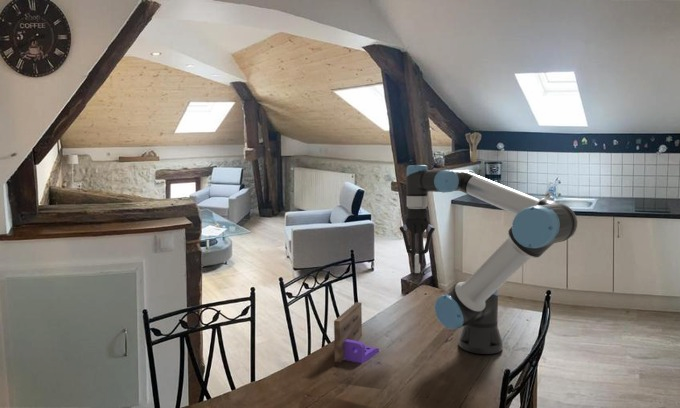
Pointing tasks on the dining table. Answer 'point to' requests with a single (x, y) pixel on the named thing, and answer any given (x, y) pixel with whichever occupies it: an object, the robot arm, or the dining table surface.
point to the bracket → (358, 351)
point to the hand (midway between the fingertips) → (417, 272)
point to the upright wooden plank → (347, 329)
